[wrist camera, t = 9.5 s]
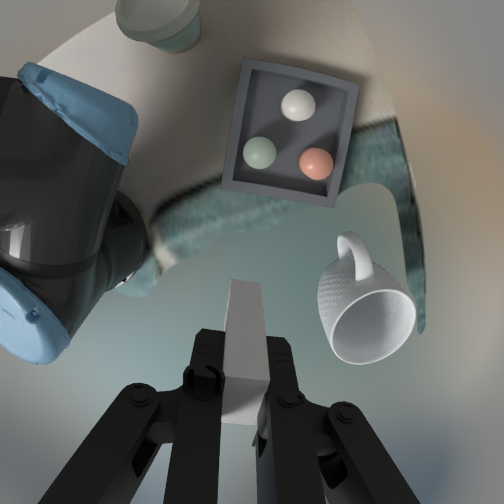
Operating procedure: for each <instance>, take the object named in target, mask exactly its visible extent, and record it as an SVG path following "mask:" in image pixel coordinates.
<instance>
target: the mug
mask: <svg viewBox="0 0 504 504" xmlns="http://www.w3.org/2000/svg"><path fill="white" fill-rule="evenodd" d="M337 247H338V254H339V259H337V260H336V261H334V262H332V263H331V264H330V265H329V266H328V267H327V268H326V270H325V271H324V273H323V274H322V277H321V279H320V283H319V288H318V294H317V295H318V307H319V313H320V317H321V319H322V324H323V326H324V330H325V332H326V335H327V337H328V339H329V342H330V345H331V347H332V350H333V351H334V353H335V354H336V355H337V356H338V357H339V358H340V359H341V360H343V361H345V362H347V363H351V364H369V363H373V362H376V361H379V360H381V359H383V358H385V357H387V356H389V355H390V354H392V353H393V352H395V351H396V350H397V349H398V348H399V347H400V346H401V345H402V344H403V343H404V342H405V341H406V339H407V338H408V337H409V335H410V333H411V331H412V329H413V327H414V324H415V319H416V309H415V305H414V303H413V301H412V299H411V298H410V296H409V295H408V294H407V293H406V292H405V290H404V289H403V288H402V287H401V286H400V284H399V283H398V282H397V281H396V280H395V279H394V277H392V276H391V275H390V274H389V273H388V272H387V271H386V270H385V269H383V268H382V267H381V266H380V265H377V264H376V263H374V262H372V261H371V258H370V255H369V252H368V250H367V248H366V246H365V244H364V242H363V241H362V239H361V238H360V237H359V236H358V235H357V234H356V233H354V232H344V233H342V234H340V235H339V236H338V239H337ZM350 248H351V250H352V252H353V255H354V256H351V251H350Z"/></svg>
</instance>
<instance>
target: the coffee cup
mask: <svg viewBox="0 0 504 504" xmlns="http://www.w3.org/2000/svg"><path fill="white" fill-rule="evenodd" d="M199 5H200V0H118V1H117V4H116V10H115V12H116V21H117V24H118V26H119V28H120V30H121V31H122V32H123V34H125V35H126V36H127V37H129V38H130V39H133V40H136V41H141V42H146V43H148V44H151V45H153V46H155V47H157V48H159V49H161V50H163V51H165V52H168V53H181V52H185V51H187V50H189V49H190V48H192V47H193V46H194V45H195V44H196V43H197V41H198V40H199V37H200V33H201V29H200V18H199Z"/></svg>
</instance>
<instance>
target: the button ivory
mask: <svg viewBox="0 0 504 504" xmlns="http://www.w3.org/2000/svg"><path fill="white" fill-rule="evenodd" d="M280 111H281V114H282V115H283V116H284V117H285V118H286V119H287V120H289V121H293V122H298V121H302V120H306V119H308V118H310V117H311V116H312V115H313V113H314V111H315V101H314V98H313V97H312V96H311V95H310V94H309V93H308V92H306V91H304V90H293V91H290V92H289V93H288V94H287V95H286V96H285V97H283V99H282V100H281V102H280Z"/></svg>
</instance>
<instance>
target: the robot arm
mask: <svg viewBox="0 0 504 504" xmlns="http://www.w3.org/2000/svg"><path fill="white" fill-rule="evenodd" d="M17 76H18V78H9V77H3V76H0V344H1V345H2V346H3V347H4V348H6V349H7V350H8V351H9V352H11V353H12V354H14V355H15V356H17V357H19V358H20V359H22V360H24V361H27V362H29V363H32V364H43V365H44V364H49V363H52V362H53V361H55V360H56V359H57V358H58V356H59V355H60V354H61V353H62V352H63V350H64V349H66V348H67V347H68V346H69V344H70V340H71V339H72V338H73V336H74V335H75V333H76V332H77V330H78V329H79V327H80V326H81V324H82V323H83V322H84V320H85V319H86V317H87V316H88V315H89V313H90V312H91V310H92V309H93V308H94V306H95V305H96V303H97V302H98V301H99V299H100V298H101V297H102V295H103V294H104V293H105V292H107V291H109V290H111V289H113V288H115V287H118V286H120V285H122V284H124V283H125V282H127V281H128V280H129V279H130V278H131V277H132V276H133V275H134V274H135V273H136V271H137V270H138V268H139V267H140V266H141V264H142V262H143V260H144V257H145V254H146V248H147V235H146V229H145V225H144V222H143V220H142V217H141V215H140V213H139V211H138V210H137V208H136V207H135V206H134V204H133V203H132V202H131V201H130V200H129V199H128V198H127V197H126V196H125V195H123V194H122V193H121V192H119V191H117V188H118V185H119V182H120V179H121V176H122V174H123V171H124V168H125V166H127V165H128V162H129V160H128V155H129V152H130V149H131V146H132V143H133V140H134V137H135V134H136V131H137V128H138V115H137V113H136V111H135V109H134V108H133V107H132V106H131V105H130V104H129V103H127V102H125V101H123V100H121V99H119V98H116V97H114V96H112V95H110V94H108V93H106V92H103V91H101V90H99V89H97V88H94V87H92V86H90V85H87V84H85V83H83V82H80V81H78V80H75V79H73V78H71V77H68V76H66V75H63V74H60V73H58V72H55V71H53V70H50V69H48V68H45V67H43V66H40V65H37V64H35V63H32V62H28V63H26V64H24V66H23V67H22V69H20V70H19V71H18V74H17ZM263 312H264V311H263V301H262V291H261V283H257V282H250V281H243V280H235V279H231V283H230V289H229V296H228V302H227V309H226V316H225V322H224V331H216V330H210V329H203V328H202V329H201V330H200V331H199V332H198V334H196V337H195V342H194V346H193V352H192V356H191V361H190V365H189V366H188V367H186V369H185V371H184V373H183V385H182V386H180V387H179V388H177V389H175V390H171V391H161V392H157V391H156V390H155V388H153V387H151V386H150V385H148V384H143V383H133V384H130V385H127V386H126V387H125V388H124V389H122V391H121V392H120V393H119V394H118V396H117V397H116V398H115V400H114V401H113V402H112V404H111V405H110V406H109V408H108V409H107V410H106V412H105V413H104V414H103V416H102V417H101V418H100V420H99V421H98V422H97V423H96V425H95V426H94V427H93V429H92V430H91V431H90V433H89V434H88V436H87V437H86V438H85V440H84V441H83V442H82V444H81V445H80V446H79V448H78V449H77V450H76V452H75V453H74V454H73V456H72V457H71V458H70V460H69V461H68V462H67V464H66V465H65V467H64V468H63V469H62V471H61V472H60V473H59V475H58V476H57V478H56V479H55V480H54V482H53V483H52V484H51V486H50V487H49V489H48V490H47V491H46V493H45V495H44V496H43V497H42V498H41V500H40V501H39V503H38V504H130V502H131V500H132V498H133V497H134V495H135V493H136V491H137V489H138V487H139V486H140V484H141V482H142V480H143V478H144V477H145V475H146V473H147V471H148V469H149V467H150V466H151V464H152V462H153V460H154V458H155V456H156V455H157V453H158V451H159V449H160V447H161V445H162V444H164V443H173V445H172V451H171V457H170V463H169V469H168V476H167V482H166V488H165V495H164V502H163V504H217V498H218V475H219V473H218V472H219V455H220V435H221V422H225V423H235V424H247V425H255V424H256V421H257V420H258V429H257V432H256V435H255V437H254V440H253V444H252V446H255V444H256V472H257V473H256V474H257V503H258V504H326V501H325V496H326V498H327V500H328V502H329V504H420V502H419V501H418V499H417V498H416V496H415V495H414V493H413V491H412V490H411V488H410V487H409V485H408V484H407V482H406V480H405V479H404V477H403V476H402V474H401V473H400V471H399V470H398V468H397V466H396V465H395V463H394V462H393V460H392V459H391V457H390V455H389V454H388V452H387V451H386V449H385V448H384V446H383V444H382V443H381V441H380V440H379V438H378V437H377V435H376V433H375V432H374V430H373V429H372V427H371V426H370V424H369V423H368V421H367V420H366V418H365V416H364V415H363V413H362V412H361V410H360V409H359V408H358V407H357V406H355V405H354V404H352V403H349V402H345V401H343V402H337V403H334V404H332V406H331V407H330V408H328V407H324V406H320V405H317V404H314V403H312V402H310V401H308V400H306V398H305V395H304V394H302V393H301V391H299V388H298V382H297V377H296V372H295V367H294V363H293V362H294V361H293V356H292V351H291V346H290V344H289V343H288V342H287V340H286V339H285V338H282V337H273V336H266V332H265V322H264V313H263ZM324 494H325V495H324Z"/></svg>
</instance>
